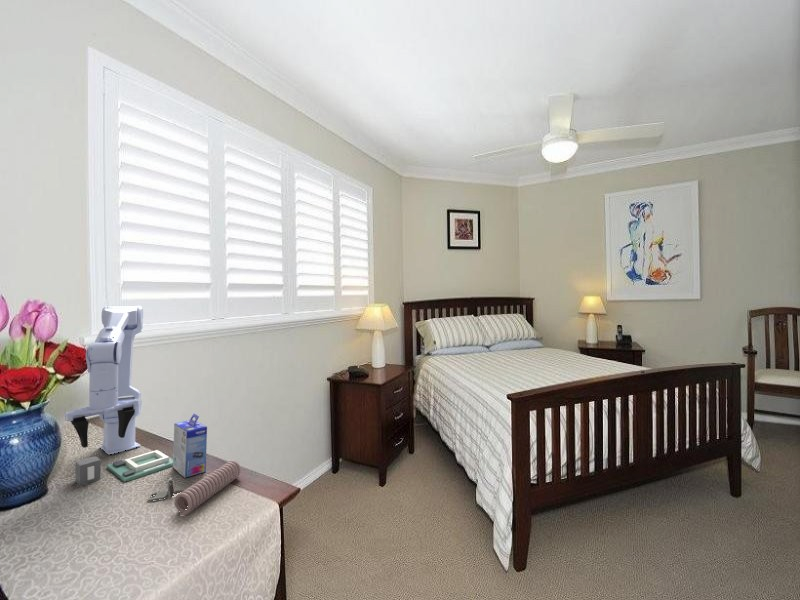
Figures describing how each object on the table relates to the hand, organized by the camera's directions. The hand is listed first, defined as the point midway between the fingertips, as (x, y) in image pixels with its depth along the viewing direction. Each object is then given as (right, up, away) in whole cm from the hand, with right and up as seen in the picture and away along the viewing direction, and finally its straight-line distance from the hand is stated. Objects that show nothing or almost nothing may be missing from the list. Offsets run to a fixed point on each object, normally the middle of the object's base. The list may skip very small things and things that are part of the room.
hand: (103, 441), depth 92 cm
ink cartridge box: (+19, -10, +5) cm, 22 cm away
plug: (-3, -10, -1) cm, 10 cm away
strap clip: (+22, -10, -8) cm, 26 cm away
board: (+5, -10, +7) cm, 13 cm away
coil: (+31, -10, -7) cm, 34 cm away
